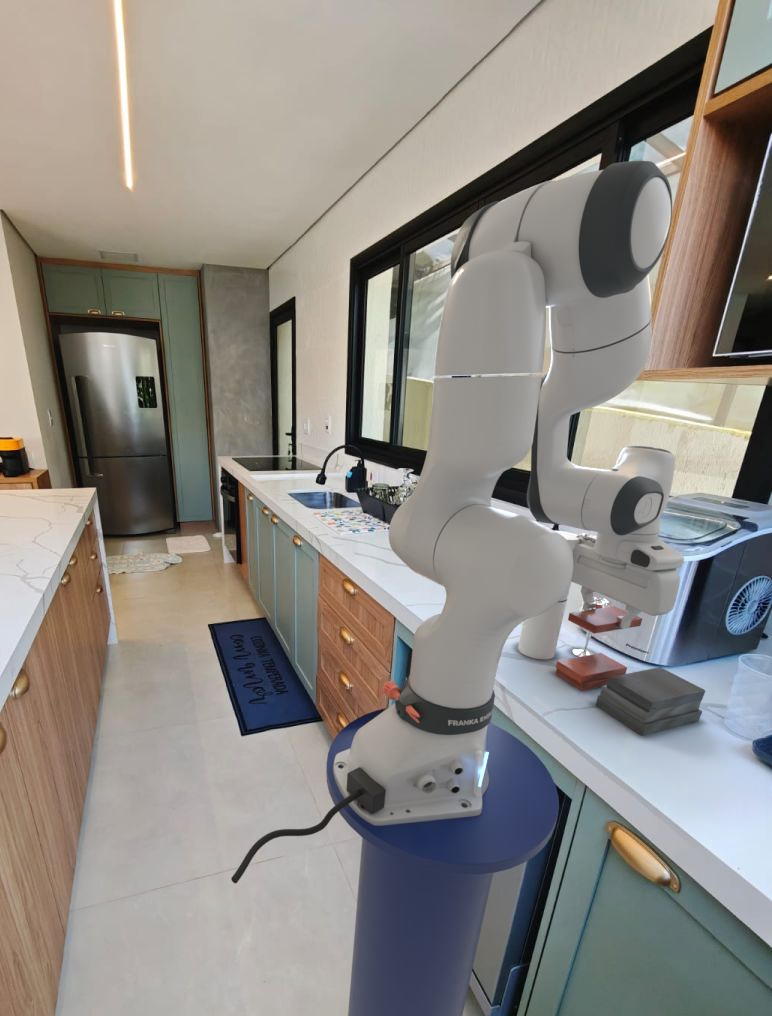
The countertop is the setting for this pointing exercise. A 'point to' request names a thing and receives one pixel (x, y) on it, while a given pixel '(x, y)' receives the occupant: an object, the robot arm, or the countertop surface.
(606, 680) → the rust books
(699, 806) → the countertop surface
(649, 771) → the countertop surface
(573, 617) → the rust booklet
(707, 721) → the countertop surface
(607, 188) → the robot arm
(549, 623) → the cylindrical container
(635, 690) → the grey books
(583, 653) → the wineglass
